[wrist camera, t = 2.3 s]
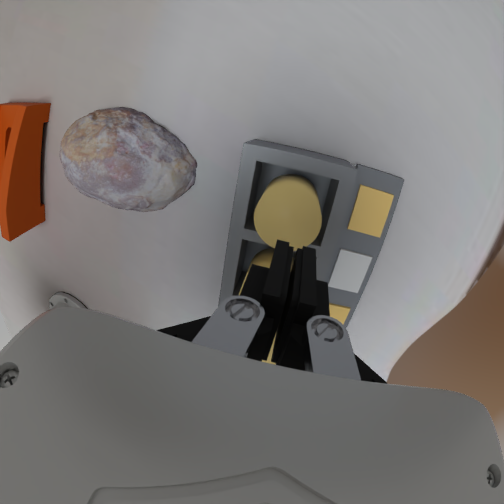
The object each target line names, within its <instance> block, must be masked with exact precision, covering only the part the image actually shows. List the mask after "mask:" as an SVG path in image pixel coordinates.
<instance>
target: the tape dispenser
mask: <svg viewBox="0 0 504 504" xmlns="http://www.w3.org/2000/svg"><path fill="white" fill-rule="evenodd" d="M50 106H51V103H5V104H0V226H1V233H2V237H3V238H5V239H6V240H8V241H9V242H10V241H12V240H13V239H15V238H17V237H18V236H20V235H21V234H23V233H25V232H26V231H28V230H30V229H32V228H33V227H35V226H37V225H38V224H40V223H42V222H44V221H45V205H44V204H41V203H40V163H41V145H42V133H43V123H44V122H48V120H49V113H50Z"/></svg>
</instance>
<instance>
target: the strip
mask: <svg viewBox="0 0 504 504" xmlns="http://www.w3.org/2000/svg"><path fill="white" fill-rule="evenodd" d="M356 169H357V170H358V172H357V175H356V179H355V183H354V186H353V190H352V193H351V197H350V200H349V204H348V207H347V211H346V214H345V217H344V221H343V224H342V227H341V230H340V233H339V236H338V240H337V243H336V246H335V249H334V252H333V255H332V258H331V261H330V264H329V267H328V269H327V272H326V275H325V278H324V282H327V283H328V293H329V309H330V317H332V318H335V319H337V320H338V321H340V322H341V323H342V324H343V325H344V326H345V328H346V327H347V325H348V323H349V321H350V319H351V317H352V315H353V313H354V311H355V309H356V306H357V304H358V302H359V300H360V298H361V295H362V293H363V291H364V289H365V286H366V284H367V282H368V279H369V277H370V275H371V272H372V270H373V267H374V265H375V262H376V260H377V257H378V255H379V252H380V250H381V247H382V245H383V242H384V239H385V237H386V234H387V231H388V228H389V225H390V223H391V220H392V217H393V214H394V211H395V208H396V205H397V202H398V199H399V196H400V192H401V189H402V186H403V182H404V179H402V178H400V177H397V176H394V175H391V174H388V173H385V172H382V171H379V170H376V169H373V168H370V167H366V166H363V165H360V164H357V165H356Z"/></svg>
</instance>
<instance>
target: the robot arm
mask: <svg viewBox="0 0 504 504" xmlns="http://www.w3.org/2000/svg"><path fill="white" fill-rule="evenodd" d="M289 243H290V242H286V241H282V240H278V239H277V242H276V246H275V250H274V253H273V257H272V261H271V264H270V268H267V267H263V266H259V265H255V264H252V265H251V267H250V270H249V273H248V275H247V278H246V280H245V283H244V285H243V288H242V290H241V293H240V295H239V296H231V297H229V298H226V299H225V300H224V301H223V302H222V303H221V304H220V305H219V307H218V308H217V309H216V311H215V312H214V313H213V315H212V316H209V317H206V318H202V319H198V320H195V321H191V322H187V323H183V324H179V325H176V326H172V327H168V328H164V329H160V330H157V331H156V330H153V329H150V328H148V327H145V326H142V325H139V324H136V323H133V322H130V321H127V320H124V319H122V318H119V317H116V316H113V315H110V314H106V313H103V312H99V311H95V310H90V309H87V308H86V307H85V306H84V305H83V304H82V303H80V302H79V301H78V300H77V299H75V298H74V297H72V296H71V295H69V294H66V293H63V292H58V293H55V294H54V295H53V296H52V297H51V298H50V301H49V308H50V310H48V311H46V312H44V313H42V314H41V315H39V316H38V317H36V318H35V319H34V320H32V321H31V322H30V323H29V324H28V325H26V326H25V327H24V328H23V329H22V330H21V331H20V332H19V333H18V334H17V335H15V337H14V338H13V339H12V340H11V341H10V342H9V343H8V344H7V345H6V346H5V347H4V348H3V349H2V350H1V351H0V504H504V460H503V456H502V451H501V447H500V443H499V439H498V436H497V433H496V429H495V426H494V424H493V421H492V419H491V417H490V414H489V412H488V411H487V409H486V408H485V406H484V405H483V404H481V403H480V402H478V401H477V400H475V399H474V398H471V397H469V396H467V395H465V394H461V393H458V392H454V391H449V390H443V389H434V388H424V387H413V386H403V385H393V384H387V383H386V382H385V381H384V380H383V379H382V378H381V377H380V376H379V375H378V374H376V373H375V372H374V371H373V370H372V369H371V368H370V367H369V366H368V365H366V364H365V363H364V362H363V361H362V360H361V359H360V358H359V357H357V356H356V355H355V354H354V352H353V349H352V345H351V342H350V338H349V335H348V332H347V330H346V328H345V326H344V325H343V324H342V323H341V322H340V321H338V320H337V319H335V318H332V317H330V309H329V293H328V283H327V282H324V281H320V280H317V278H316V249H314V248H310V247H306V246H303V248H302V249H300V248H297V251H296V255H295V258H294V262H293V265H292V269H291V264H292V257H293V249H294V247H292V246H289ZM290 271H291V272H290ZM275 334H276V337H275ZM274 337H275V342H274V348H273V353H272V358H271V362H273V363H276V365H274V364H270V363H265V362H262V360H265V361H267V358H268V355H269V352H270V349H271V346H272V343H273V340H274Z"/></svg>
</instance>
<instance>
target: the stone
mask: <svg viewBox="0 0 504 504" xmlns="http://www.w3.org/2000/svg"><path fill="white" fill-rule="evenodd" d="M60 160H61V163H62V165H63V168H64V170H65V175H66V177H67V179H68V180H69V182H70V183H71V184H72V185H74V186H75V187H76V189H78V190H79V192H80V193H82V194H84V195H86V196H88V197H92V198H94V199H97V200H100V201H102V202H103V203H105V204H108V205H110V206H112V207H115V208H118V209H125V210H136V211H141V212H148V211H155V210H160V209H164V208H165V207H166V206H167V205H168V204H169V203H171V202H173V201H174V200H176V199H177V198H178V197H180V196H182V195H183V194H184V193H185V192H186V191H187V190H188V189H189V188H190V187H191V186H192V185H194V183H195V177H196V168H197V162H196V160H195V159H194V157H193V156H192V155H191V154H190V153H189V151H188V149H187V147H186V146H185V144H183V143H182V142H181V141H180V140H179V139H178V138H177V137H176V136H175V135H173V134H171V133H170V132H169V131H167V130H166V129H165V128H163V127H161V126H159V125H158V124H156V123H154V122H153V121H152V120H151V119H150V118H149V117H148V116H147V115H145V114H144V113H141V112H137V111H136V110H134V109H131V108H125V107H119V108H112V109H105V110H96V111H94V112H93V113H90V114H88V115H87V116H84V117H82V118H80V119H78V120H77V121H75V122H74V123H73V124H72V125H71V126H70V127H69V129H68V130H67V131H66V133H65V135H64V137H63V139H62V141H61V150H60Z"/></svg>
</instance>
